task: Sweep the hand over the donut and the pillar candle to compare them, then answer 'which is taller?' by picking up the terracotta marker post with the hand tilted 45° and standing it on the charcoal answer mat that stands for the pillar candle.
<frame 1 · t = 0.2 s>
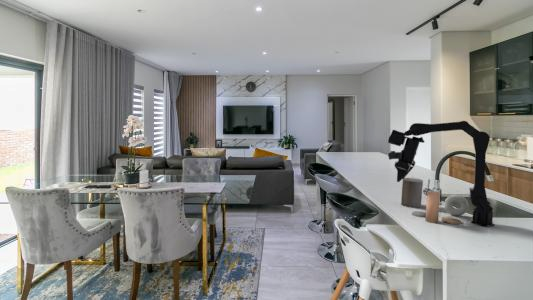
hand: (399, 180, 156), 15 cm above the worktop, tool pointing down, fingers open, 9 cm apart
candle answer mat: (420, 214, 153), on the worktop
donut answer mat: (451, 221, 144), on the worktop
marker post: (431, 221, 143), on the worktop
donut: (455, 216, 153), on the worktop
pillar candle: (411, 205, 170), on the worktop
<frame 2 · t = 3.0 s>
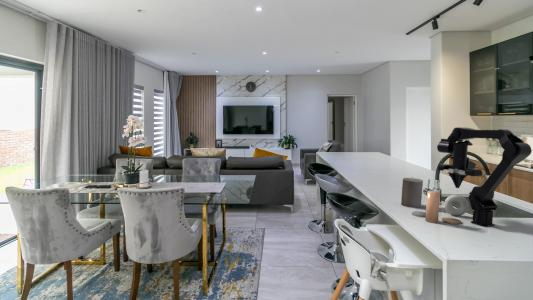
hand: (457, 188, 151), 13 cm above the worktop, tool pointing down, fingers closed
nothing on the worktop moved.
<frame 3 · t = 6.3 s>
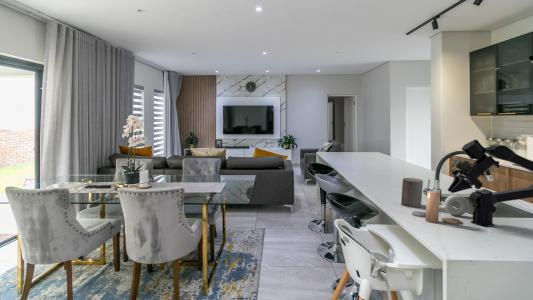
hand: (449, 191, 141), 14 cm above the worktop, tool tilted 45°, fingers open, 3 cm apart
nothing on the worktop moved.
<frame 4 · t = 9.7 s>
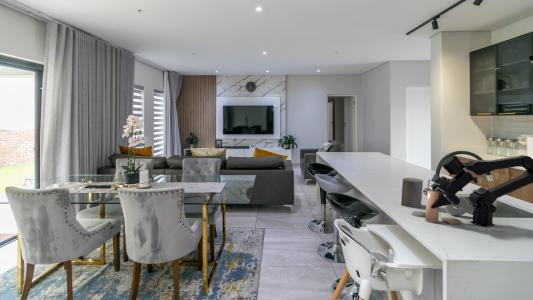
hand: (429, 206, 143), 7 cm above the worktop, tool tilted 45°, fingers closed on marker post, 5 cm apart
marker post: (431, 221, 143), on the worktop, touching gripper
everything else where it was.
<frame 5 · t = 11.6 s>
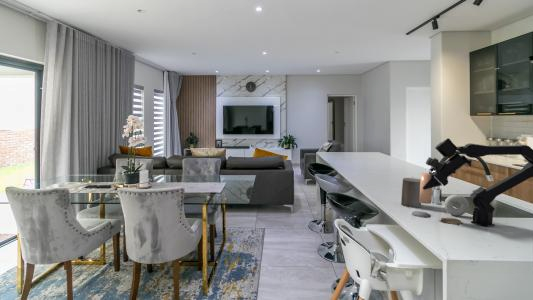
hand: (422, 187, 148), 14 cm above the worktop, tool tilted 45°, fingers closed on marker post, 5 cm apart
marker post: (425, 202, 148), point 7 cm above the worktop, touching gripper
everything else where it was.
when the fingers open (8 cm above the worktop, at t = 13.6 s): marker post stays where it is, resting on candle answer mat.
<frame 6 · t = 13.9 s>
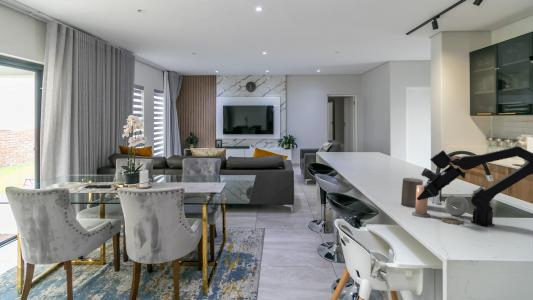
hand: (418, 197, 153), 8 cm above the worktop, tool tilted 45°, fingers open, 8 cm apart
marker post: (420, 213, 153), point 1 cm above the worktop, touching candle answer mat
everything else where it was.
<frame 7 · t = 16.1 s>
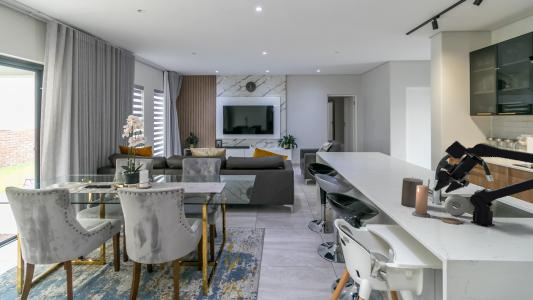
hand: (440, 191, 151), 11 cm above the worktop, tool tilted 35°, fingers open, 9 cm apart
nothing on the worktop moved.
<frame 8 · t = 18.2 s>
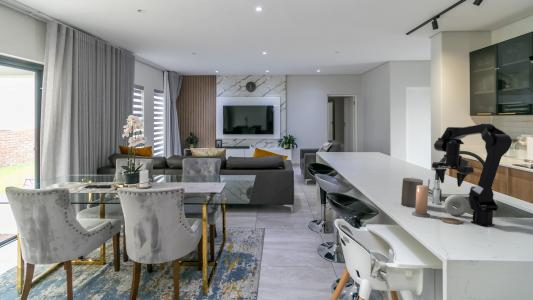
hand: (450, 184, 159), 13 cm above the worktop, tool pointing down, fingers open, 9 cm apart
nothing on the worktop moved.
at the end: marker post 0.0 cm off-centre on the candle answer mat, point 0.6 cm above the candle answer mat's base; marker post tilted 0°; the gripper is holding nothing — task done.
